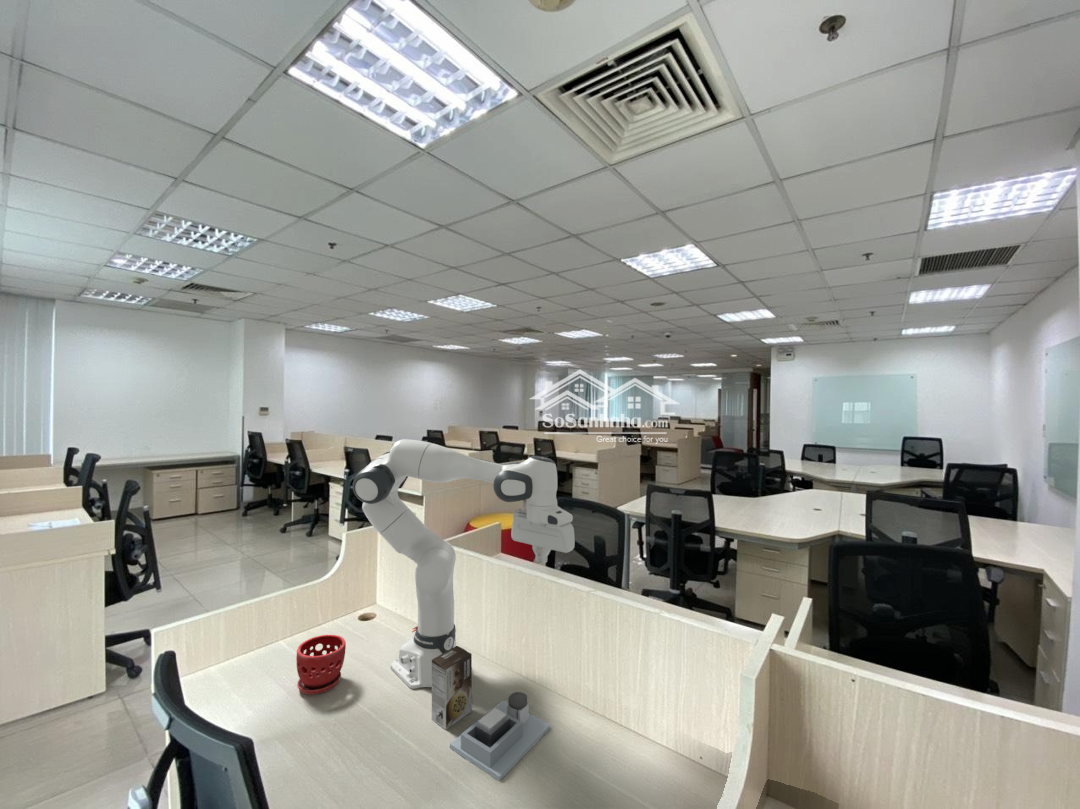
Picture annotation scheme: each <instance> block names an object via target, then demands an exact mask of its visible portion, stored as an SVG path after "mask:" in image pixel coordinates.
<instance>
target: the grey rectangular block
mask: <svg viewBox="0 0 1080 809" xmlns="http://www.w3.org/2000/svg"><path fill="white" fill-rule="evenodd" d="M490 710H491V709H490ZM490 710H489V711H490ZM489 711H488V712H489ZM485 714H486V713H485ZM485 714H484V715H485ZM484 715H483V716H484ZM479 719H480V718H479ZM479 719H478V720H479ZM478 720H477V721H478ZM509 730H510V718H509V717H507V714H506V713H504V712H502V711H500V710H498V709H496V708H494V709H493V710H491V711H490V712H489V713H488V714H486V715H485V716H484V717H483V718H482V719H480V720H479V721H478V724H477V725H476V726H475V739H476V740H478V741H480V742H481V743H483V744H484V745H486V746H488V747H489V748H490V747H492V746H493V745H494V744H495V743H496V742H497V741H498V740H499V739H500V738H501V737H502V736H503V735H505V734H506V733H507V732H508V731H509Z"/></svg>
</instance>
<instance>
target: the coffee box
mask: <svg viewBox="0 0 1080 809" xmlns="http://www.w3.org/2000/svg"><path fill="white" fill-rule="evenodd" d="M472 656H473V655H472V653H471V652H469V651H467V649H464V648H463V647H461V646H458V645H456V646H455V647H454V648H452V649H450V650H448V651H447V652H445V653H443V654H441V655H439V656H438V657H436V658H434V659H432V687H431V720H432V721H433V722H435V723H436V725H439V726H440V727H441V728H442V729H444V730H448V729H450V728H451V727H452V726H454V725H455V724H456V723H458V722H459V721H461V720H462V719H463V718H465V717H466V716H468V715H469V714H470V713H472V711H473V710H472V709H473V706H472V705H473V703H472V702H473V701H472V699H473V695H472V693H473V692H472V690H473V687H472V685H473V684H472V683H473V681H472V678H473V677H472V676H473V674H472V672H473V671H472V669H473V667H472V658H473V657H472Z"/></svg>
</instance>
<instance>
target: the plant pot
mask: <svg viewBox="0 0 1080 809" xmlns="http://www.w3.org/2000/svg"><path fill="white" fill-rule="evenodd" d="M319 644H321V645H322V648H321V649H319V650H317V649H316V647H317V646H318V645H319ZM328 646H329V647H328ZM336 647H337V649H336ZM311 648H312V649H311ZM346 649H347V648H346V640H345V638H344V637H342V636H340V635H336V634H321V635H318V636H314V637H311V638H309V639H306V640H304V641H303V642H302V643H300V644H299V646H298V647H297V650H296V659H295V660H296V671H297V675H298V681H297V684H296V685H297V688H298V690H299V691H300V692H301V693H303V694H306V695H317V694H321V693H322V694H323V693H325V692H327V691H329V690H332V688H334V687H335V686H336V685H338V683H339V682H340V681H341V678H342V672H341V670H342V668H343V665H344V661H345V656H346ZM325 651H326V654H324V653H323V652H325ZM311 654H313V655H311Z"/></svg>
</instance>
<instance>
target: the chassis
mask: <svg viewBox="0 0 1080 809" xmlns="http://www.w3.org/2000/svg"><path fill="white" fill-rule="evenodd" d="M529 706H530V703H528V702H527V705H526V707H524V708H522V709H513V708H511V707H510V706H509V703H508V701H506V700H505V699H502V701H500V702H499V703H498V704H496V705H495V706H493V707H492V708H491V709H490V710H489V711H487V712H486V713H484V715H483V716H481V717H480V718H479V719H478V720H476V721H475V722H474V723H472V725H470V726H469V727H468V728H467V729H465V730H464V731H463V732H462V733H461V734H460V735H458V736H457V737H456V738H455V739H454V740H453V741H452V742H450V743H449V749H451V750H452V751H454V752H455V753H457V754H458V755H460V756H461V757H463V758H464V759H466V760H468V762H470V763H472V764H473V765H474V766H475V767H477V768H480V770H482V771H483V772H484V773H486V774H488V775H490V776H491V777H492V778H494V779H495V780H496V781H498V782H500V781H501V780H502V779H503V778H504V777H505V776H506V775H507V774H508V773H509V772H510V771H511V770H512V769H513V768H514V767H515V766H516V765H517V764H518V762H519V761H521V760H522V758H524V756H525V755H526V754H527V753H528V752H529V751H530V750H531V749H533V747H534V746H535V745H536V744H537V743H538V742H539V741H540V740H541V739H542V738H543V737H544V736H545V735H546V734H547V732H548V731H550V729H551V724H550V723H548V722H547V721H545V720H542V719H541V718H539V717H537V716H535V715H534V714H532V713H529V711H530V710H529V709H530V707H529ZM494 708H496V709H498V710H500V711H502V712H504V713H506V714H507V717H509V718H510V730H509V731H508V732H507V733H506V734H505V735H503V736H502V737H501V738H500V739H499V740H498V741H497V742H496V743H495V744H494V745H493V746H492V747H490V748H489V747H488V746H486V745H484V744H483V743H481V742H480V741H478V740H476V739H475V726H476V725H477V724H478V721H479V720H480V719H482V718H483V717H484V716H485V715H486V714H488V713H489V712H490V711H491V710H493V709H494Z"/></svg>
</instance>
